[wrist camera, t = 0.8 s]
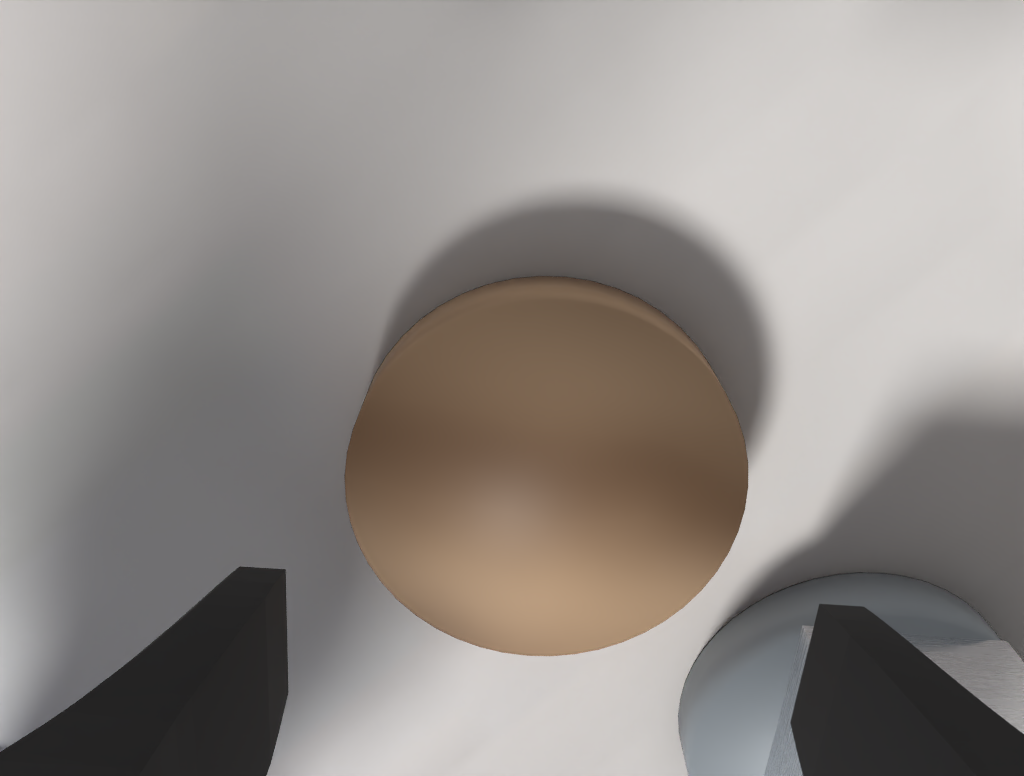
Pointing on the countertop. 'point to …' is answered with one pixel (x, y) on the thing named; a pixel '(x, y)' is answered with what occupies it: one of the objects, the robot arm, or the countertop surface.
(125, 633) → the countertop surface
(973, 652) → the white and teal box
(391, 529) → the walnut stand
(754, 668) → the grey stand
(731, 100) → the countertop surface
